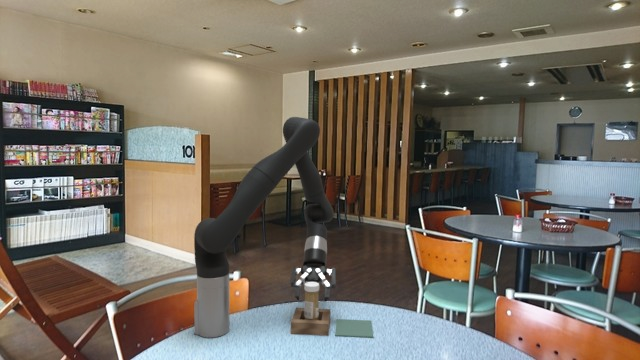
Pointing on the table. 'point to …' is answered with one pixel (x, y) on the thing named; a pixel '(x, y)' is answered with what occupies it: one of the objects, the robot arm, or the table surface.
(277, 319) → the table surface
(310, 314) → the sprinkles bottle
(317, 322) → the keeper collar
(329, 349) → the table surface
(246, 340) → the table surface
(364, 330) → the rubber mat
